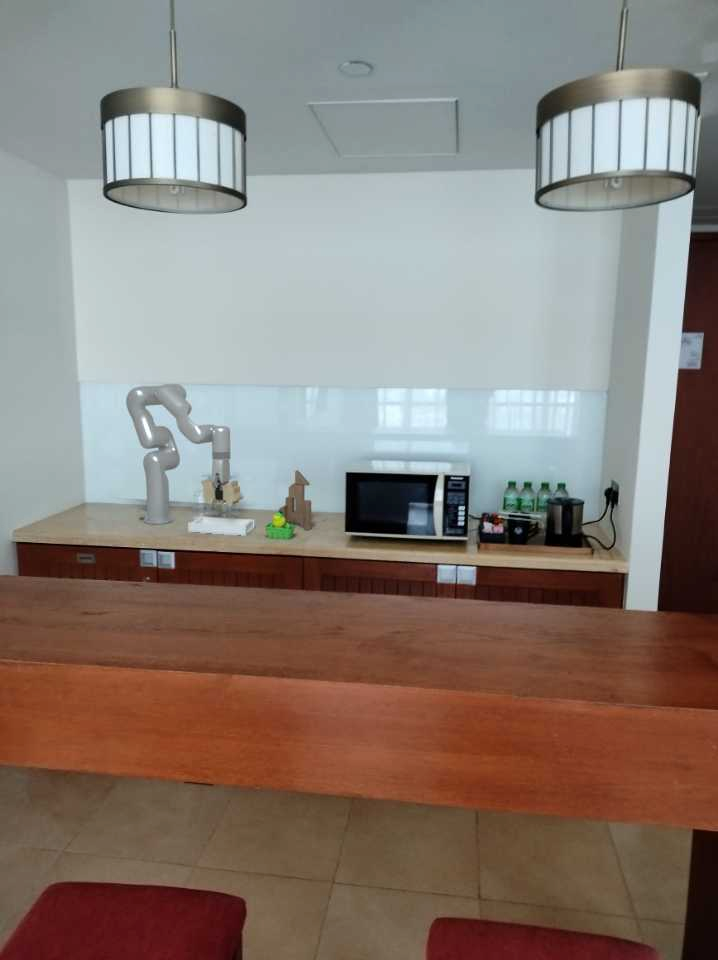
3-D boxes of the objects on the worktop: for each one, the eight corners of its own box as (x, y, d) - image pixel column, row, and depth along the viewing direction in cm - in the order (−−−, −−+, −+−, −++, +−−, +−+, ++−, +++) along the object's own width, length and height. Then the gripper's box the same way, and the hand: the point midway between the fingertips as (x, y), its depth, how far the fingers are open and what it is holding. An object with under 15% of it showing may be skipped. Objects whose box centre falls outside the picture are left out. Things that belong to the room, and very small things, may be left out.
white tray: (188, 532, 287) (188, 523, 287) (200, 525, 300) (200, 516, 299) (245, 536, 284) (245, 526, 283) (255, 528, 296) (255, 519, 296)
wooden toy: (276, 527, 299) (276, 471, 295) (282, 523, 306) (283, 468, 301) (309, 530, 295) (309, 473, 290) (315, 527, 301) (315, 471, 296)
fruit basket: (296, 536, 285) (296, 509, 283) (289, 541, 277) (289, 514, 275) (270, 534, 287) (270, 508, 285) (263, 539, 279) (263, 512, 277)
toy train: (236, 506, 284) (236, 483, 283) (201, 503, 290) (200, 480, 288) (243, 504, 290) (243, 481, 288) (208, 500, 295) (207, 478, 293)
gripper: (220, 452, 295) (220, 493, 298) (205, 458, 278) (206, 501, 281) (236, 453, 294) (237, 494, 297) (222, 459, 277) (223, 502, 280)
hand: (222, 497), depth 289 cm, fingers closed on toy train, 6 cm apart
